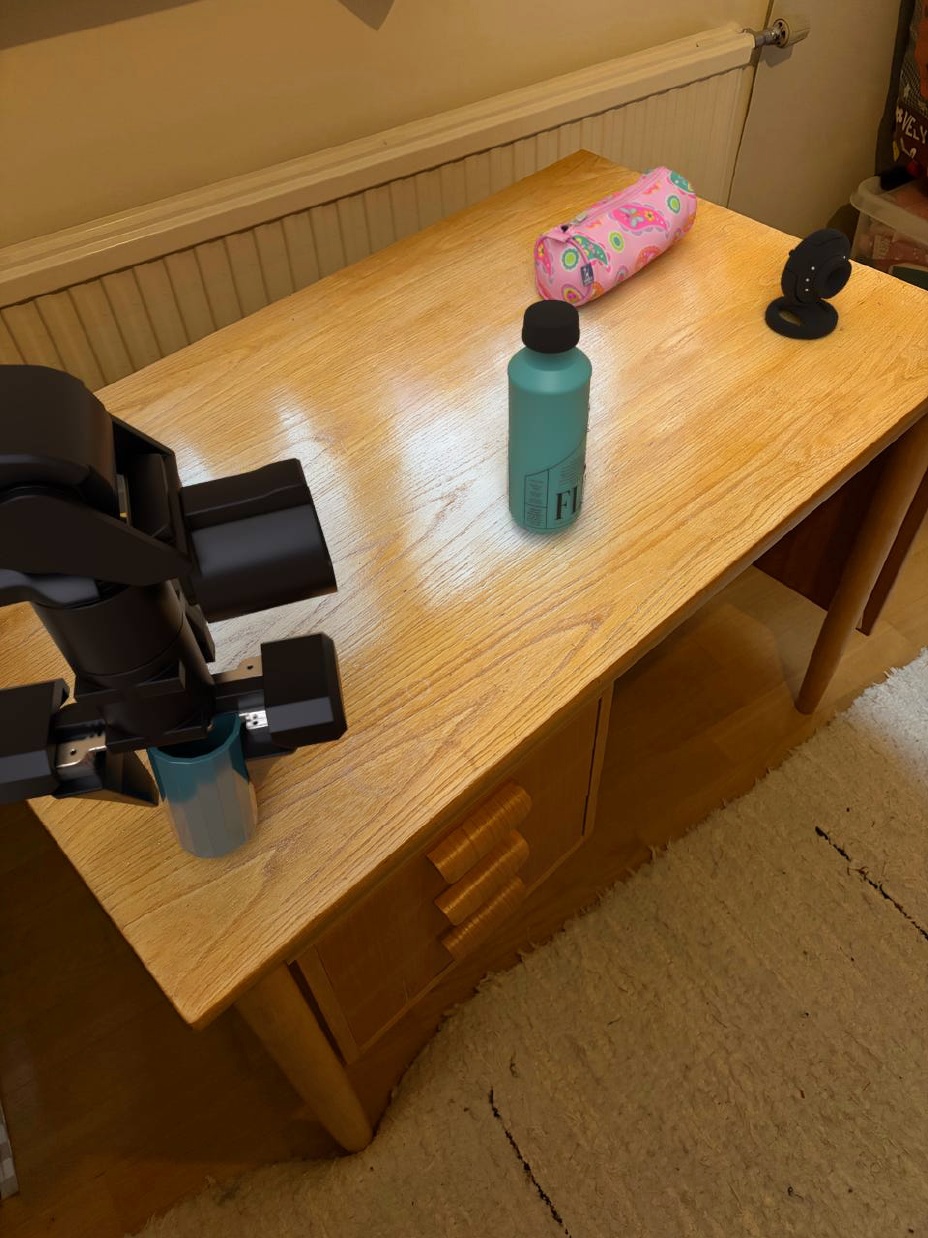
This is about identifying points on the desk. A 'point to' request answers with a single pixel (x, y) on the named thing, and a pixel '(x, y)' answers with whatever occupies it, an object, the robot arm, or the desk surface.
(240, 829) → the cup
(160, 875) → the desk surface
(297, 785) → the desk surface
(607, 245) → the pencil case
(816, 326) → the webcam
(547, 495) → the beverage bottle
